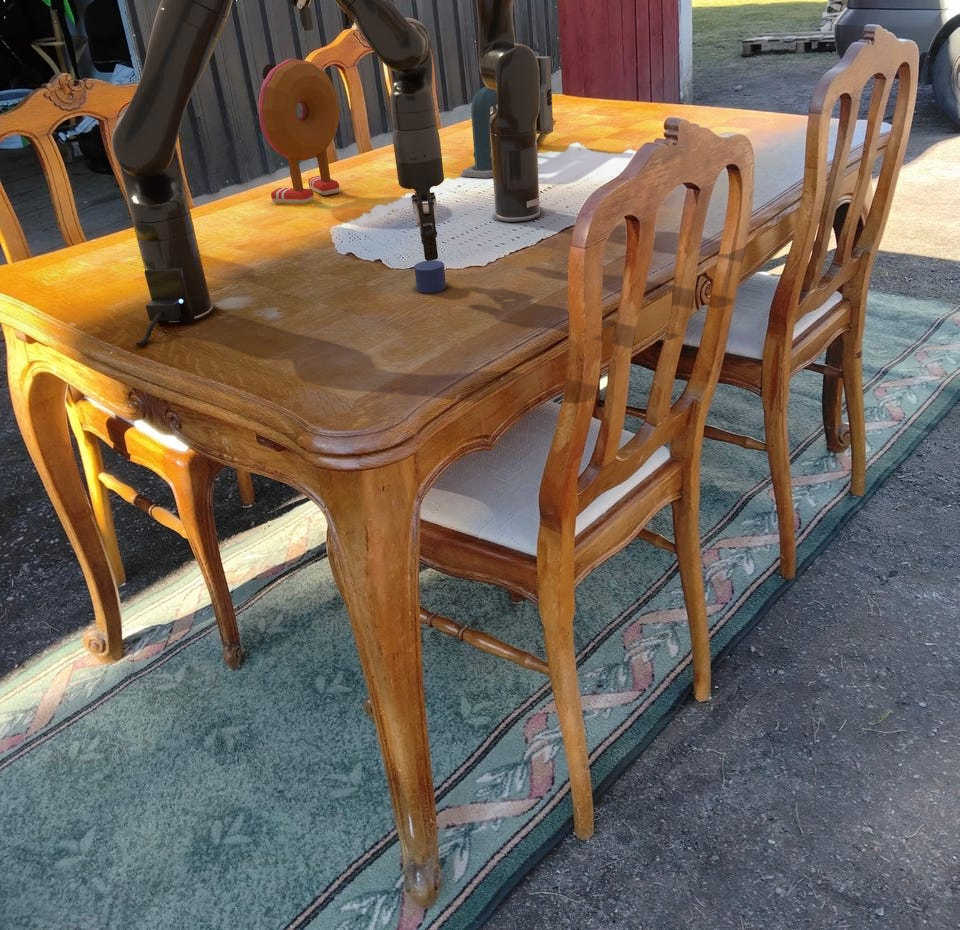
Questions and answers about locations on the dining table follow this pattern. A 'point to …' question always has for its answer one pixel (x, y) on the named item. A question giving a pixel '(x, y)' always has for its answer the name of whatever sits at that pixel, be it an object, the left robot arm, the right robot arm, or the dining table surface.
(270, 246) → the dining table surface
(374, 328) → the dining table surface
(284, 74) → the toy
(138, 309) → the dining table surface
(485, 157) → the clamp
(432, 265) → the canister
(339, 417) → the dining table surface
